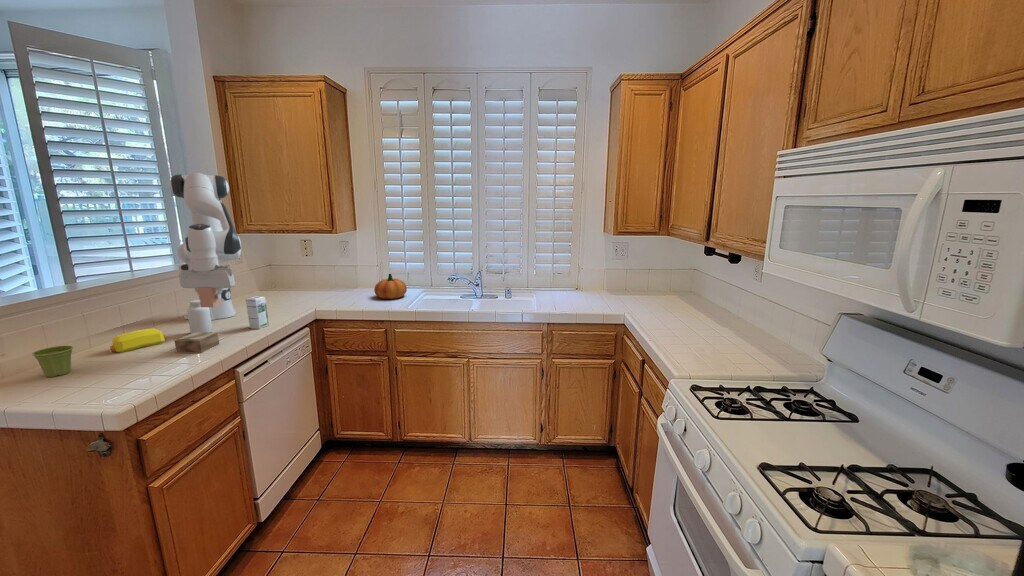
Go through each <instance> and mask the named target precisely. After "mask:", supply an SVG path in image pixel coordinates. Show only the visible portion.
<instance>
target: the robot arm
mask: <svg viewBox="0 0 1024 576" xmlns="http://www.w3.org/2000/svg"><path fill="white" fill-rule="evenodd" d="M169 188H170V190H171V192H172V193H173V195H174V196H176V197H177V198H181V199H184V203H185V205H186V207H187V208H188V209H189V210H190V216H191V221H192V222H191V223H192V225H189V226H188V227H187V235H186V237H184V240H185V241H184V243H181V244H180V245H179V246H178V248H177V256H178V258H179V260H180V261H181V262H183V264H180V265H178V270H179V271H180V272H179V275H178V277H179V285H180V286H181V288H182V289H194V291H195V292H196V294H197V295H198V299H197V300H200V297H199V291H198V288H216V291H218V292H217V294H215V299H220V298H221V302H222V304H221V305H219V306H216V307H209V310H210V317H211V321H214V320H215V321H216V320H221V319H226V318H230V317H234V316H237V312H236V310H235V307H234V305H233V301H232V291H231V288H234V287H235V286H236V280H235V276H234V274H233V268H232V267H231V266H229V265H228V264H223V265H220V262H221V263H223V262H229V261H235V260H237V259H239V258H240V256H241V254H242V242H241V238H240V236H239V234H238V232H237V231H236V228H235V226H234V223H233V221H232V218H231V216H230V213H229V211H228V208H227V206H226V205H225V204H224V203H223V202H222V201H221V200H222V199H225V198H226V197H227V196H228V194H229V192H230V186H229V182H228V181H227V180H226V178H225V177H224V176H221V175H211V174H204V173H201V172H191V173H189V174H175V175H173V176H171V177H170V181H169ZM190 307H191V306H190V305H189V307H188V308H190ZM183 319H184V320H189V319H188V314H186V315H184V316H183Z"/></svg>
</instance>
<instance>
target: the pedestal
mask: <svg viewBox="0 0 1024 576" xmlns="http://www.w3.org/2000/svg"><path fill="white" fill-rule="evenodd" d="M218 344H219V345H220V340H219V333H218V332H210V333H200V332H194V333H191V332H190V333H188V334H186V335H184V336H182V337H180V338H177V339H175V340H174V345H175V346H174V347H175V352H176V353H179V354H180V353H183V354H184V353H185V354H189V353H190V354H192V353H193V354H194V353H200V354H202V353H204V352H206V351H208V350H210V348H211V349H213V348H214V346H215V347H216V345H217V346H219V345H218ZM212 347H213V348H212Z"/></svg>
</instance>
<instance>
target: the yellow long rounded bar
mask: <svg viewBox="0 0 1024 576" xmlns="http://www.w3.org/2000/svg"><path fill="white" fill-rule="evenodd" d="M166 339H167V336H166V334H164V333H163V331H161V330H160V329H156V328H155V327H153V328H145V329H144V328H143V329H138V330H133V331H129V332H125V333H121V334H118V335H115V337H114V338H112V341H111V343H112V344H111V346H110V348H109V350H110V351H111V352H116V353H124V352H129V351H133V350H136V349H140V348H144V347H151V346H155V344H156V345H159V344H162V343H164V342H165V341H166Z"/></svg>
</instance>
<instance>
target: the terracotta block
mask: <svg viewBox="0 0 1024 576" xmlns="http://www.w3.org/2000/svg"><path fill="white" fill-rule="evenodd" d="M198 291H199V295H198V298H199V297H200V304H201V307H216V306H219V305H221V304H222V302H221V298H220V299H215V294H217V292H218V291H216V288H198Z"/></svg>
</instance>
